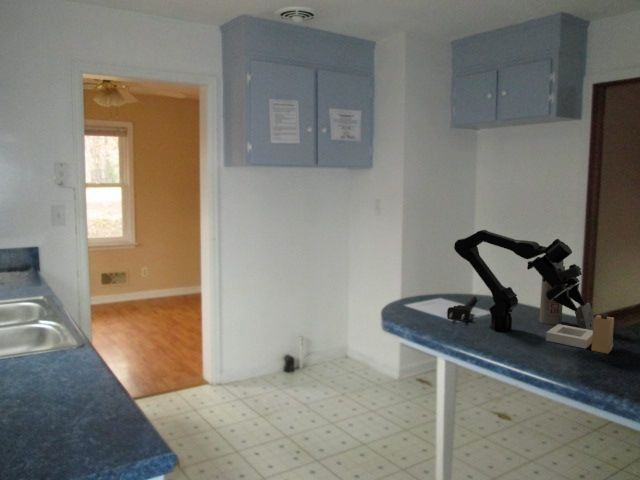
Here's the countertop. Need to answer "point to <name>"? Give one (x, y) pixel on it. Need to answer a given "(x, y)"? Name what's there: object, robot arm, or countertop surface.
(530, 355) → the countertop surface
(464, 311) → the electrical plug
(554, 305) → the thermos bottle
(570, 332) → the socket block
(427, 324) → the countertop surface
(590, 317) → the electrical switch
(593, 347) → the plug
